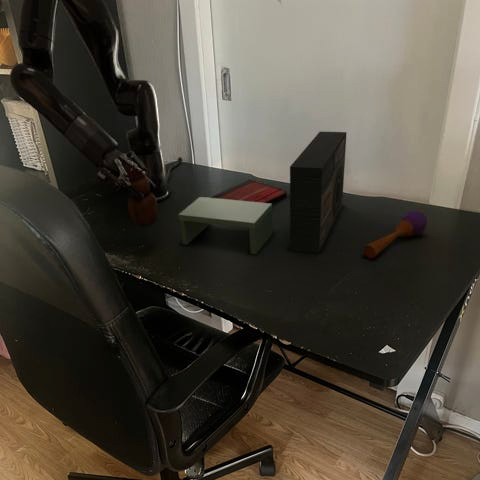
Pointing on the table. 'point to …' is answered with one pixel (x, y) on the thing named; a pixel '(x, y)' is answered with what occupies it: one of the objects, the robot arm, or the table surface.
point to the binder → (252, 192)
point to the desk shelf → (228, 219)
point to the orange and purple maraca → (399, 232)
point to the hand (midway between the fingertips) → (147, 194)
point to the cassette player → (316, 191)
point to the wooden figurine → (147, 207)
